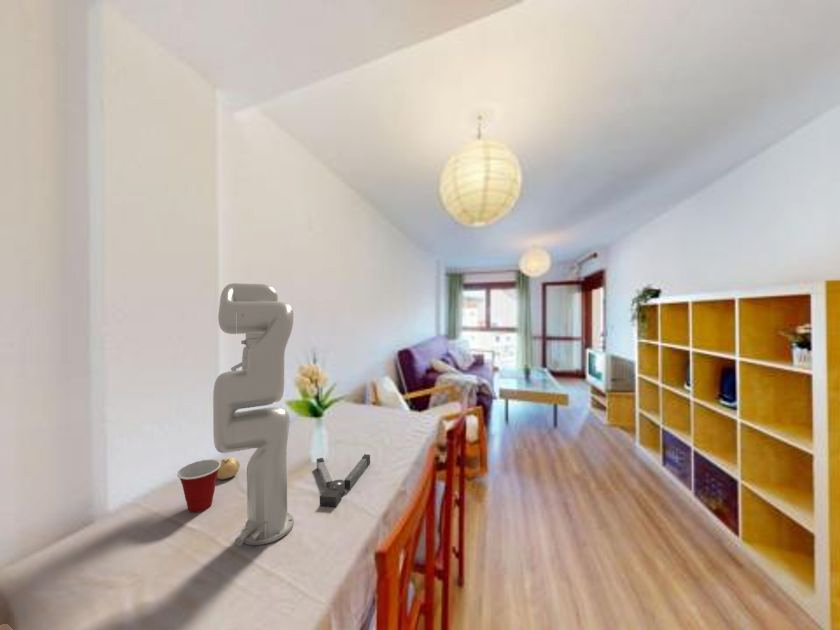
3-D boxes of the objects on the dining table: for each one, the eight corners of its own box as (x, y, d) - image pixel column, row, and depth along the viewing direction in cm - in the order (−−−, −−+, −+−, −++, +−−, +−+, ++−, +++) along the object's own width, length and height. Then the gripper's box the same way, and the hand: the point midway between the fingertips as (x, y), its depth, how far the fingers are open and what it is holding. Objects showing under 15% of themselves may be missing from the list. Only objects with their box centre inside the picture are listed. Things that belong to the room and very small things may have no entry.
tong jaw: (346, 496, 102) (346, 484, 102) (328, 500, 99) (328, 488, 99) (331, 465, 124) (331, 455, 124) (316, 468, 122) (316, 458, 122)
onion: (208, 479, 115) (208, 459, 115) (230, 470, 122) (230, 451, 122) (223, 484, 112) (223, 463, 112) (244, 474, 119) (244, 454, 119)
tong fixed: (337, 507, 95) (337, 495, 95) (319, 506, 96) (319, 494, 96) (370, 463, 125) (370, 454, 125) (356, 462, 126) (356, 454, 126)
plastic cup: (172, 522, 90) (171, 478, 90) (183, 502, 100) (183, 463, 100) (217, 513, 94) (217, 470, 94) (224, 495, 104) (224, 457, 104)
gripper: (230, 344, 117) (231, 392, 117) (282, 342, 126) (283, 386, 126) (230, 343, 124) (231, 389, 123) (279, 341, 132) (280, 383, 132)
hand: (257, 387), depth 124 cm, fingers open, 9 cm apart
